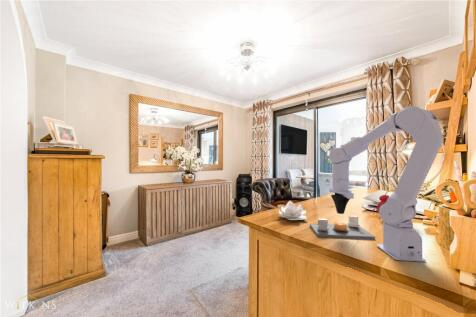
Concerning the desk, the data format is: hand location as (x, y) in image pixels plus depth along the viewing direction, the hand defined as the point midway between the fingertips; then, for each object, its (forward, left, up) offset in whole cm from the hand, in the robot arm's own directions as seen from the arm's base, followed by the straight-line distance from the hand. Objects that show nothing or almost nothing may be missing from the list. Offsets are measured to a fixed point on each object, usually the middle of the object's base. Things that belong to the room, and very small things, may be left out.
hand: (340, 213), depth 77 cm
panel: (+1, 0, -8) cm, 8 cm away
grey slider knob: (-1, +7, -7) cm, 10 cm away
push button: (0, 0, -7) cm, 7 cm away
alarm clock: (+18, -29, -8) cm, 35 cm away
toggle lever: (+5, -7, -7) cm, 11 cm away
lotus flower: (+17, +16, -8) cm, 25 cm away
